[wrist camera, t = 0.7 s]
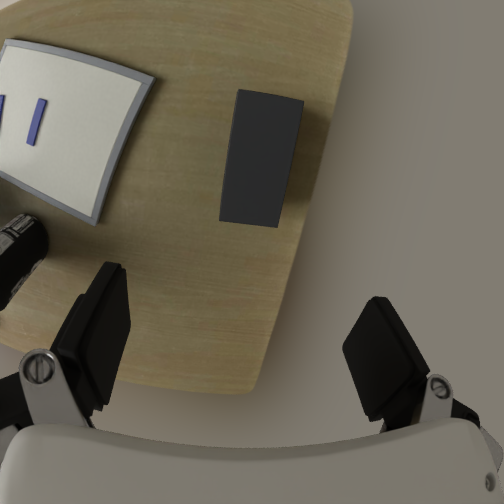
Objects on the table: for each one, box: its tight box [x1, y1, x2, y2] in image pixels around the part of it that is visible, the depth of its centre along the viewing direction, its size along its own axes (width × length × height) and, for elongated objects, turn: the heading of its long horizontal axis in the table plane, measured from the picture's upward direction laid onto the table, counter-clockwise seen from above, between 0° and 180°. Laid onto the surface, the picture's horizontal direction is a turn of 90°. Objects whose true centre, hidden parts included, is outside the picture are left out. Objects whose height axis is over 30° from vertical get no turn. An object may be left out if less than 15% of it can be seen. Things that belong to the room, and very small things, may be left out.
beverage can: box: [0, 214, 48, 311], centre depth 20 cm, size 7×7×12 cm
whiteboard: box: [0, 39, 156, 226], centre depth 19 cm, size 16×22×1 cm
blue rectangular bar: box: [26, 98, 47, 146], centre depth 18 cm, size 5×1×1 cm, turn 150°
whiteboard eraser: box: [219, 89, 304, 228], centre depth 21 cm, size 10×5×6 cm, turn 171°
